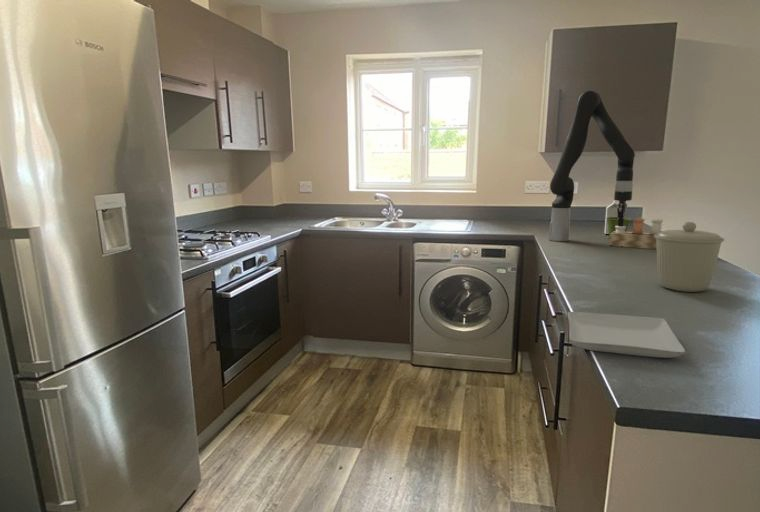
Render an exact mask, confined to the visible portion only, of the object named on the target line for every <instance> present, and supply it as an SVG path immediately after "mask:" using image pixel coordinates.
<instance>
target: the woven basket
mask: <svg viewBox="0 0 760 512" xmlns="http://www.w3.org/2000/svg"><path fill="white" fill-rule="evenodd" d="M610 245H613V246H612V247H621V246H623V248H637V249H652V250H657V247H656V238H655V237H654V235H651V232H642V235H639V234H633V231H626V232H625V234H622V233H616V231H613V232H612V233H611V234H610V239H609V246H610Z"/></svg>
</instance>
